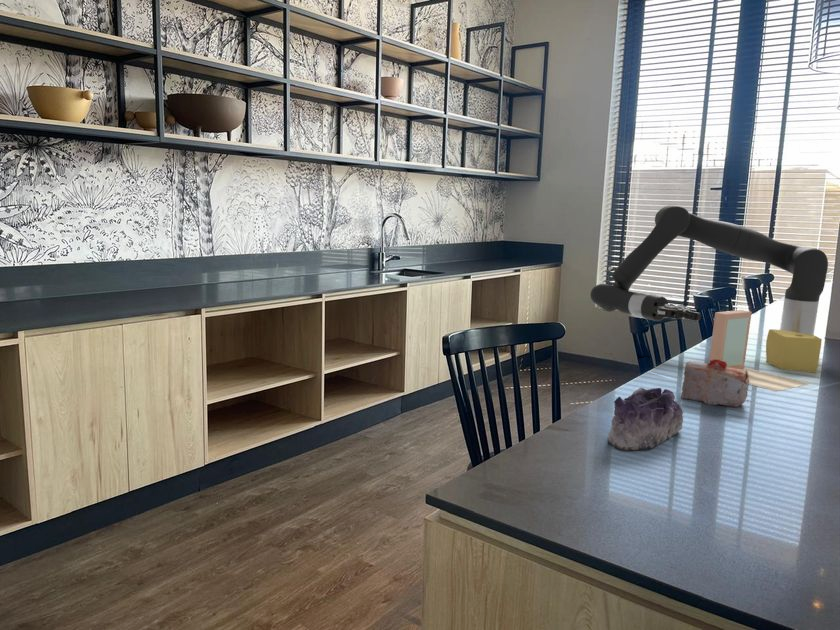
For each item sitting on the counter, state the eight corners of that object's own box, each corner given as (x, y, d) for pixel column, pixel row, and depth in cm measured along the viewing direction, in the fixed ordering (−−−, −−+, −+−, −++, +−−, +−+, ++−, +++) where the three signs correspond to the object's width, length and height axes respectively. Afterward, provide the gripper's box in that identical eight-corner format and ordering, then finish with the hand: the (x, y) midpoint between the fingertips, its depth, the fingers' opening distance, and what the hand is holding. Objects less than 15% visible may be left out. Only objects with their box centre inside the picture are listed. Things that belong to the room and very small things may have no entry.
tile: (733, 366, 178) (741, 309, 176) (744, 368, 176) (751, 311, 173) (707, 370, 172) (715, 312, 169) (718, 373, 170) (726, 314, 167)
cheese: (800, 364, 187) (805, 330, 185) (818, 374, 177) (824, 338, 175) (763, 362, 188) (767, 328, 186) (779, 371, 177) (784, 336, 176)
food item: (745, 402, 147) (751, 360, 145) (745, 412, 140) (751, 368, 138) (682, 392, 153) (687, 352, 151) (678, 400, 146) (683, 358, 144)
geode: (658, 462, 110) (656, 406, 108) (594, 453, 117) (592, 400, 116) (693, 428, 125) (691, 379, 124) (635, 421, 133) (632, 374, 131)
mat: (725, 364, 183) (726, 362, 182) (809, 385, 164) (810, 383, 163) (691, 370, 174) (691, 368, 174) (775, 393, 155) (776, 391, 155)
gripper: (635, 294, 190) (686, 304, 175) (663, 293, 197) (715, 303, 182) (632, 319, 191) (682, 331, 177) (660, 317, 198) (711, 328, 184)
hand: (699, 317), depth 180 cm, fingers closed
